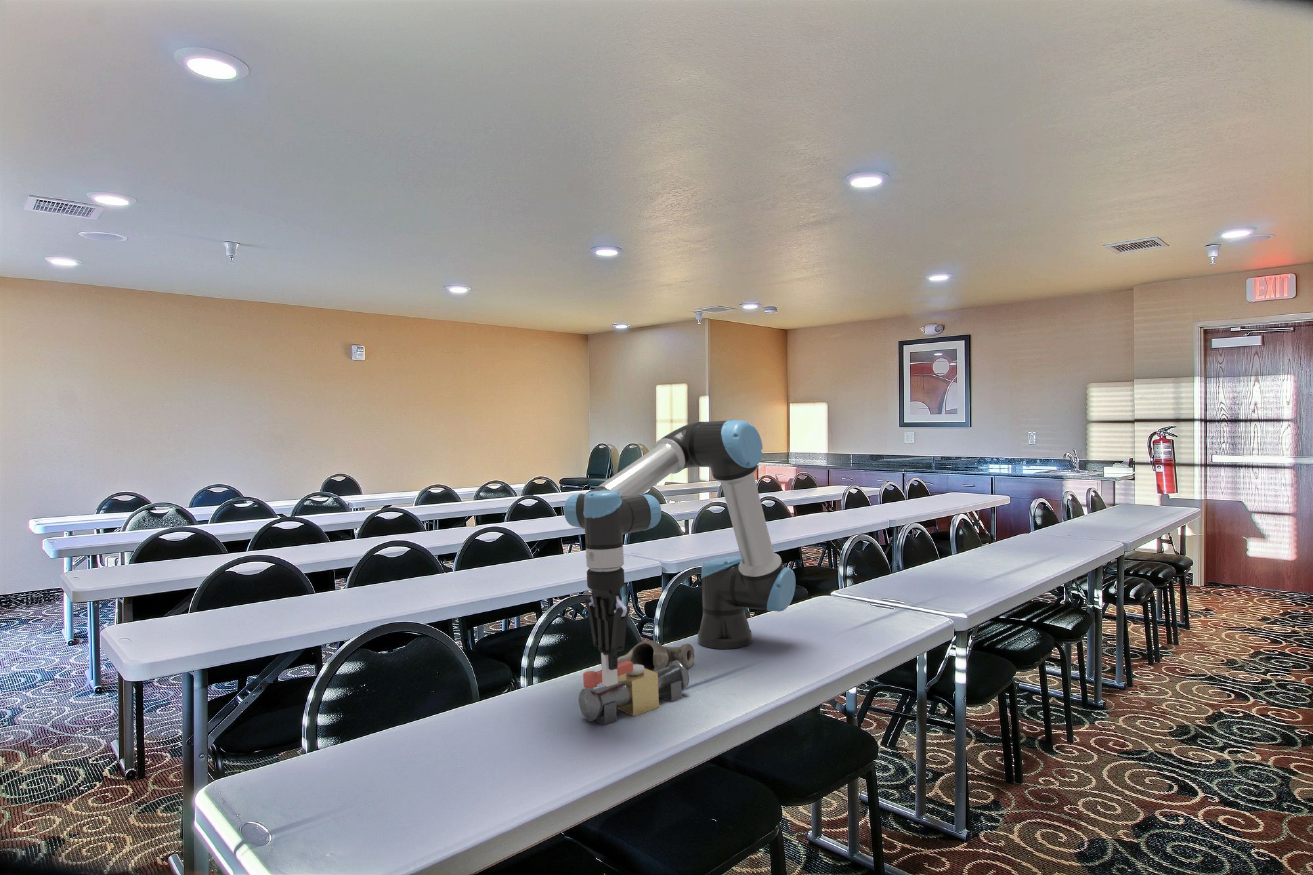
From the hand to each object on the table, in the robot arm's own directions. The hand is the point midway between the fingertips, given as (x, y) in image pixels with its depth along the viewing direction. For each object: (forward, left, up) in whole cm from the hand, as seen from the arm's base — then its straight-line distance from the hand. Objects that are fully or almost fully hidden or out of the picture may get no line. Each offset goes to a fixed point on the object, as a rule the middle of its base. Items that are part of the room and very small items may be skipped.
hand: (610, 683), depth 151 cm
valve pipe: (-11, -7, -10) cm, 16 cm away
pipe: (-29, -22, -10) cm, 38 cm away
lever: (-5, -6, -2) cm, 8 cm away
